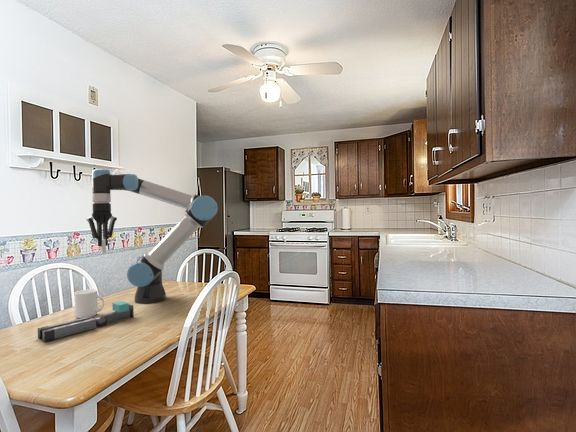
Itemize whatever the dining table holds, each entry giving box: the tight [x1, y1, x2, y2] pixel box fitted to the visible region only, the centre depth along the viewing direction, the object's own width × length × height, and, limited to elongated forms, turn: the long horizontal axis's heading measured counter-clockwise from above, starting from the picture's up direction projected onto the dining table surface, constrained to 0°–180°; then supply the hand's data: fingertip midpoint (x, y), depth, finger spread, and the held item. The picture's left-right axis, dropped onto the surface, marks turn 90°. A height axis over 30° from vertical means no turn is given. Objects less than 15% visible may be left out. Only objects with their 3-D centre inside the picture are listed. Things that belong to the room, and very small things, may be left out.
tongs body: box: [37, 303, 135, 340], centre depth 136 cm, size 33×6×5 cm, turn 141°
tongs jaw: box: [41, 317, 97, 343], centre depth 128 cm, size 17×3×4 cm, turn 141°
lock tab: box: [111, 300, 130, 313], centre depth 145 cm, size 4×6×3 cm, turn 51°
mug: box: [74, 288, 105, 319], centre depth 151 cm, size 9×12×11 cm
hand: (102, 253), depth 160 cm, fingers closed
